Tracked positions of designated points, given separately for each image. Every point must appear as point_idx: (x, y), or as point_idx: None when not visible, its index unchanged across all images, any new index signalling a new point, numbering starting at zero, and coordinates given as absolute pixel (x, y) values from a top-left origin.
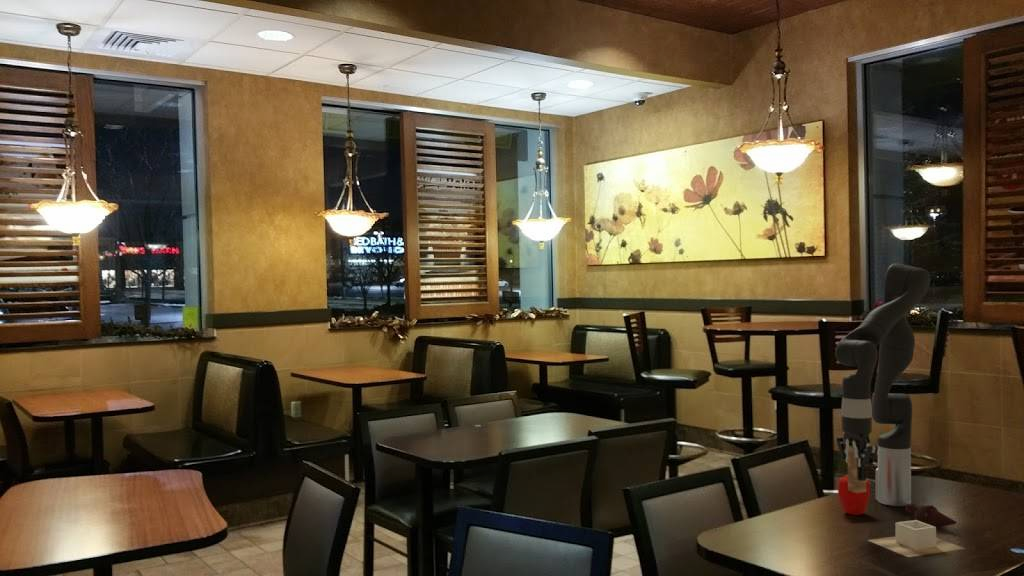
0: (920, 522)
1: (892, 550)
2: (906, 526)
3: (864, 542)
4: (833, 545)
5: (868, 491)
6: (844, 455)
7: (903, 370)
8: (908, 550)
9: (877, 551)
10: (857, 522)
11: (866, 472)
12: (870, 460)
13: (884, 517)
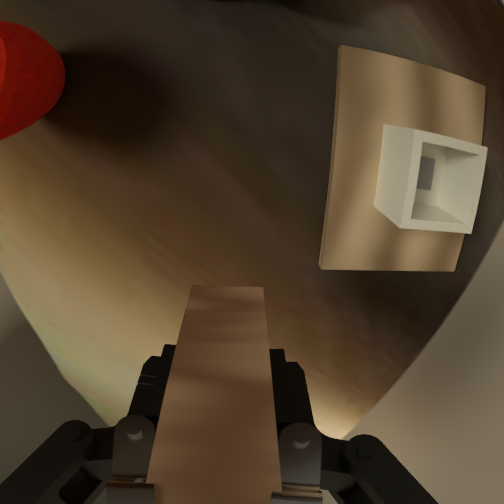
0: (440, 144)
1: (412, 269)
2: (442, 229)
3: (304, 260)
4: (285, 342)
5: (32, 43)
6: (103, 483)
7: None
8: (433, 232)
9: (373, 280)
10: (121, 132)
11: (308, 396)
12: (371, 475)
13: (111, 12)
